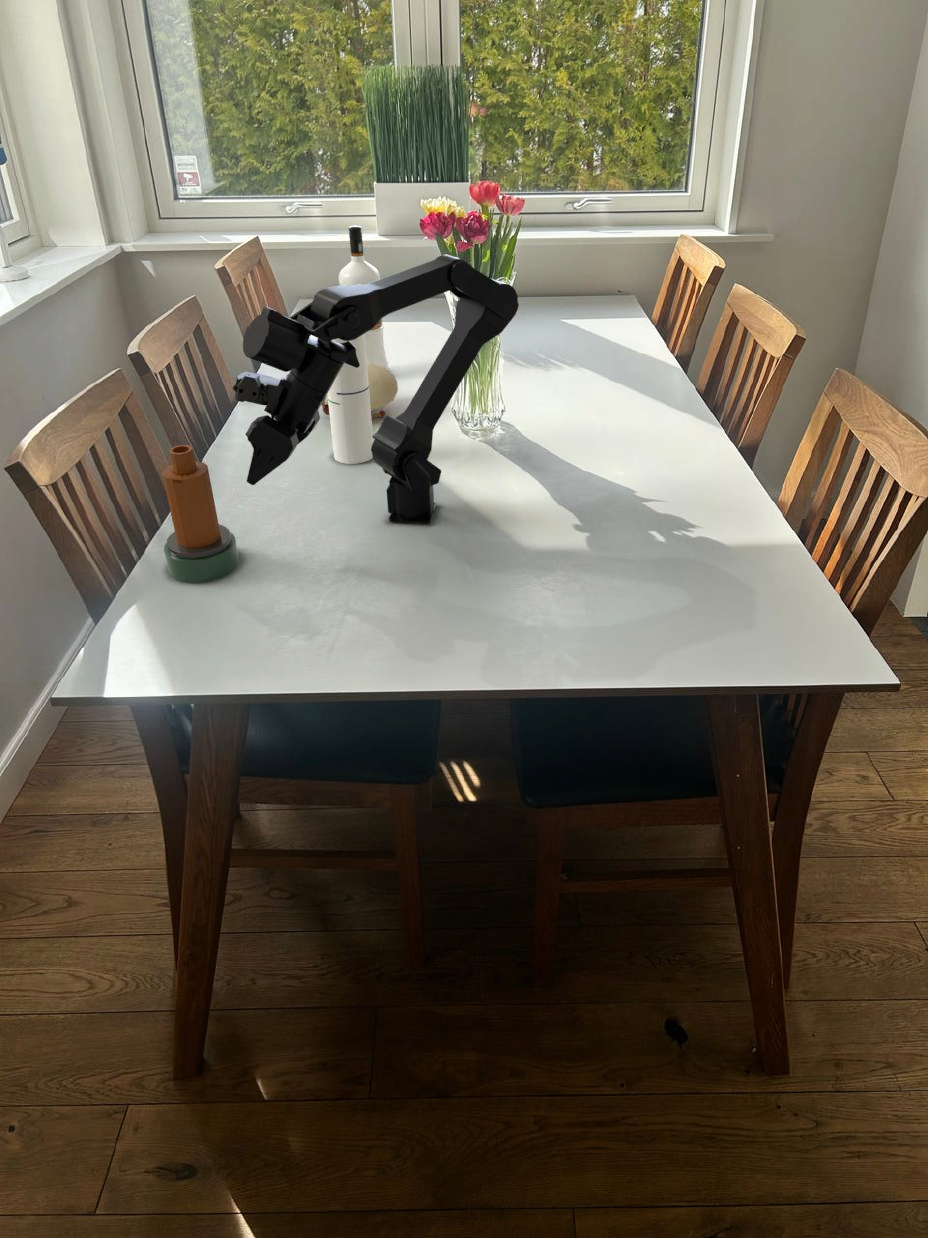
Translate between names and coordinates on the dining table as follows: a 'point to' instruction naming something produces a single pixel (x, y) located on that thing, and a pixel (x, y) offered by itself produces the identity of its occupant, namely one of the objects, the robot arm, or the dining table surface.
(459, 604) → the dining table surface
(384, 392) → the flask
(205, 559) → the green jar
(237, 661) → the dining table surface
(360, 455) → the cylindrical container
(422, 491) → the robot arm
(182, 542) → the amber bottle
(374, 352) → the vodka
